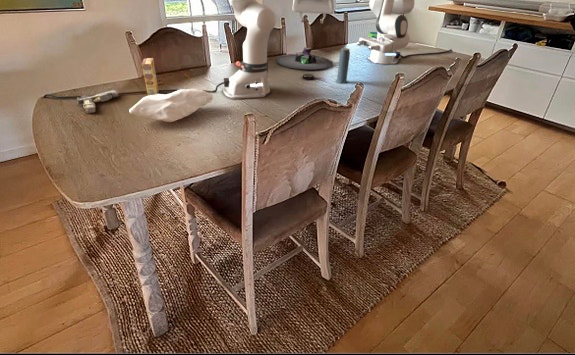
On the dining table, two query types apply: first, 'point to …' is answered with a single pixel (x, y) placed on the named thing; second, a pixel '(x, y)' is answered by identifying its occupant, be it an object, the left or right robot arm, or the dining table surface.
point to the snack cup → (373, 34)
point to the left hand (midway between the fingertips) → (312, 22)
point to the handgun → (95, 100)
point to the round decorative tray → (304, 61)
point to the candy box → (150, 76)
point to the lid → (308, 76)
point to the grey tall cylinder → (343, 65)
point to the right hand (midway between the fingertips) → (363, 45)
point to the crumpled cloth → (171, 104)
